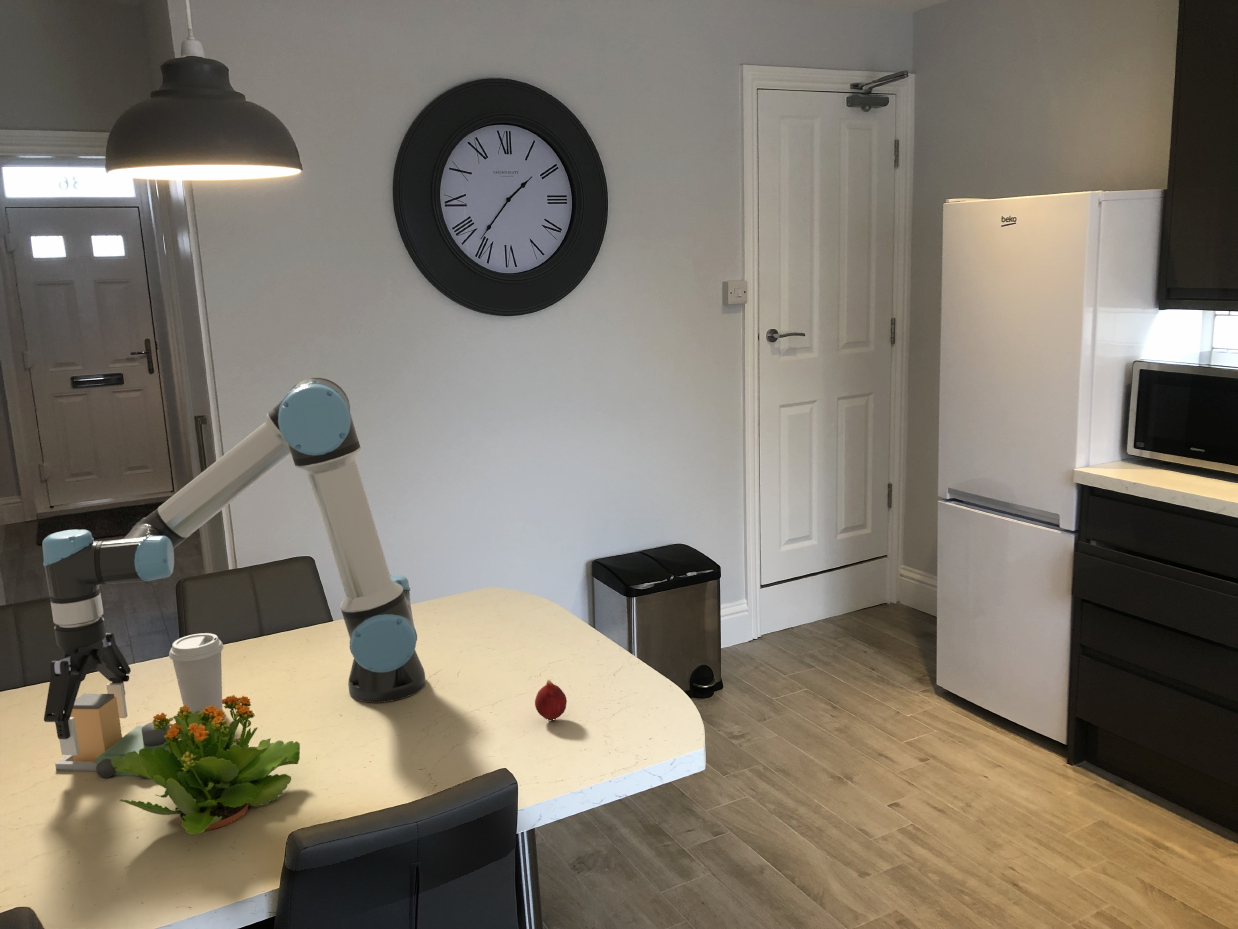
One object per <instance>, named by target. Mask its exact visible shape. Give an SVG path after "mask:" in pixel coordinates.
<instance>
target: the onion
mask: <svg viewBox="0 0 1238 929" xmlns="http://www.w3.org/2000/svg"><path fill="white" fill-rule="evenodd" d="M567 702H568V701H567V695H566V694H565V693H564V691H563V690H562V689H561V688H560V686H558V685H557V684H554V683H553V682H552V681H551V679H547V680H546V684H545V685H544V686H542V687H541V688H540V689H539V690H538V692H537V693H536V697H535V699H534V706H535V710H536V711H537V713H538V715H540V716H541V717H542V718H544V720H545V719H546V720H547V719H548V720H547V721H549V720H553V719H555V720H556V718H557V719H559V718H560V717H561V716H562V715H563V714H564V713H565V711H566V709H567Z"/></svg>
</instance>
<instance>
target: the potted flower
mask: <svg viewBox="0 0 1238 929" xmlns="http://www.w3.org/2000/svg"><path fill="white" fill-rule="evenodd" d="M251 703H252V702H251V698H249V696H244V695H242V696H241V697H237V696H235V695H234V694H233V695H230V696H229V695H228V696H226V697H225V698H222V705H223V707H224V709H228V710H229V709H230V710H229V712H230V713H229V714H230V716H231V718H232V721H231V722H230V724H229V725H228V723H227V719H224V718H225V711H223V709H222V710H219V709H218V707H214V706H207V707H206V708H204V709H205V710H203V711H202V712H200V711H196V712H194V714H193V713H192V710H190V711H189V712H188V710H189V709H190V708H189V707H188V706H187V705H184V706H183V705H182V706H180V707H179V708H178V709H179V710H178V711H177V713H176V714H175V715H174V716H173V717H169V718H167V715H168V714H165V713H164V712H161V714H155V715H153V720H152V722H153V725H154V727H153V728H154V730H158V729H161V730H163V732H164V734H165V736H164V738H166V740H167V742H165V743H164V744H165V745H164V746H167V747H168V748H169V751H168V750H165V748H162V747H156V748H155V750H154V752H153V751H152V749H151V748H149V749H147V748H142V749H140V750H139V754H138V753H137V752H136V751H133V752H128V753H127V754H125V755H124V756H125V757H124V758H123V757H121V756H118V755H116V756H115V758H113V759H111V764H112V766H113V768H116V767H117V770H116V769H115V770H116V771H117V772H127V773H134V774H138V775H141V776H144V777H147V778H148V779H150V780H151V781H153V782H154V783H155V784H157V785H158V786H161V787H162V788H164V789H165V791H164V793H163V794H160V795H159V794H154V795H155V796H158V797H160V798H163V799H164V798H167V797H169V798H170V799H171V801H172V802H173V804H174V805H175V806H176V807H175V808H174V810H173V809H170V808H169V807H167V806H164V807H163V806H162V805H159V804H158V803H155V804H153V803H152V802H151V801H147V802H145V801H141V800H138V801H136V800H133V799H132V800H129V799H122V798H121V799H120V800H119V802H123V803H126V804H129V805H131V806H133V807H135V808H139V809H141V810H142V811H143V810H144V811H146V812H148V813H151V814H156V815H161V816H172V815H173V816H174V815H179V817H180V819H181V827H182V828H183V829H185V832H186V833H188V834H189V835H198V834H202V833H204V832H205V831H209V830H217V829H218V828H222V827H225V826H228V825H229V824H232V823H234V822H235V821H237V820H238V819H240V818H242V817H243V816H244V815H246V813H247V811H248V808H249V806H250V807H254V808H260V807H261V806H267V805H268V804H270V802H273V801H276V800H277V799H279V796H281V795H283V794H284V791H285V790H286V789H287V788H288V786H289V785H290V783H291V781H292V776H290V775H288V774H286V773H283V774H282V773H281V774H280V775H279V774H278V773H275V774H273V775H272V774H271V773H272V772H273V771H275V770H276V769H278V768H279V767H281V766H282V767H283V766H288V765H297V764H299V761H300V756H301V755H300V754H301V752H300V750H301V743H300V742H298V741H293V740H290V741H288V742H284V741H283V740H277V741H276V742H271V740H272V738H271V737H269V738H267V739H262V740H261V741H260V742H259V743H258V746H250V745H249V743H250V741H251V740H252V738H253V736H254V735H255V733H256V732H257V730H258V729H259V727H258V726H257V727H254V728H253V729H251V728H252V727H251V725H252V721H251V720H250V719H253V718H254V717H255V716H256V715H255V713H254V711H253V710H251V706H252V704H251ZM172 721H175V723H171V722H172ZM239 725H241V726H242V730H241V734H240V737H239V738H235V736H236V732H237V729H238V727H239ZM161 726H162V728H161ZM166 726H171V727H169V728H170V729H168V731H167V734H166V732H165V730H164V729H165V728H166ZM247 728H248V730H247ZM251 730H252V731H251ZM181 738H182V739H181ZM234 738H235V739H234ZM178 739H180V740H178ZM177 758H178V759H177Z"/></svg>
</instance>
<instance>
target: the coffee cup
mask: <svg viewBox="0 0 1238 929" xmlns="http://www.w3.org/2000/svg"><path fill="white" fill-rule="evenodd" d="M171 645H172V647H171V648H170V650H169V652H168V653H169V654H168V658H170V660H172V664H173V668H174V672H175V676H176V679H177V680H176V681H177V684H178V689H179V693H180V698H181V701H182V707H183V706H184V705H187V706H188V707H189V708H190V709H189V710H188V712H189V711H190V710H192V713H193V714H194V712H196V711H200V712H202V711H203V710H205V709H204V708H206V707H207V706H214V707H218V709H219V710H222V711H223V704H222V700H223V680H222V679H223V678H222V675H223V674H222V672H223V671H222V651H223V649H224V644H223V642H222V641H221V639H219V637H218V635H216V634H214V633H211V632H210V633H209V632H205V633H201V632H200V633H195V634H190V635H187V636H186V635H185V636H183V637H180V638H178V639H176V640H175V641H174V642H172V644H171Z"/></svg>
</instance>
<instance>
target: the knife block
mask: <svg viewBox="0 0 1238 929" xmlns="http://www.w3.org/2000/svg"><path fill="white" fill-rule="evenodd" d="M70 717H74V719H75V725H76V732H77V738H78V745H79V751H80V753H79V754H78V755H73V759H74V761H86V762H96V758H97V757H99V756H100V755H101V754H102V753H104V752H105V751H106V750H107V749H109V748H110V747H111V746H112V745H114V744H115V743H116V742H117V741H119V740H120V739H121V738H122V737H123V734H122V727H121V720H120V719H121V718H119V712H118V705H117V698H116V697H114V694H108V693H83V694H82V695H79V696H78V697H76V700H75V703H74V706H73V710H72V713H71V716H70Z"/></svg>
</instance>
